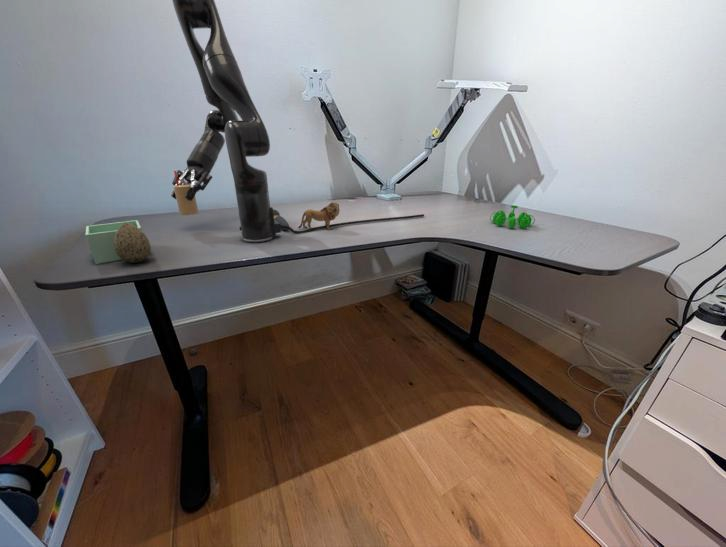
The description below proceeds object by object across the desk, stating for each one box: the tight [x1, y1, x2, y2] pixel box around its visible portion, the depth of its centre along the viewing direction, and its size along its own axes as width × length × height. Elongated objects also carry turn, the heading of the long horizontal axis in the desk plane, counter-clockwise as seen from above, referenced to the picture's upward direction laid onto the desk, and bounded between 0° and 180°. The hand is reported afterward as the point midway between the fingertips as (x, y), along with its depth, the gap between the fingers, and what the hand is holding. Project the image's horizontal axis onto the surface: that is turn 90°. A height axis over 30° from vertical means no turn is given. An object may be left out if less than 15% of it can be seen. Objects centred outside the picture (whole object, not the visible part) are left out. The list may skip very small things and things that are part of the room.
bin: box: [84, 219, 143, 265], centre depth 82 cm, size 11×10×8 cm
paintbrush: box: [273, 208, 290, 231], centre depth 112 cm, size 20×5×5 cm, turn 38°
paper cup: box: [173, 170, 200, 216], centre depth 102 cm, size 6×6×14 cm
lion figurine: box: [297, 201, 341, 231], centre depth 107 cm, size 15×5×9 cm, turn 103°
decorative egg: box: [114, 223, 151, 264], centre depth 76 cm, size 7×7×10 cm
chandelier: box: [489, 205, 536, 230], centre depth 114 cm, size 15×15×7 cm
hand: (181, 198), depth 101 cm, fingers closed on paper cup, 5 cm apart
